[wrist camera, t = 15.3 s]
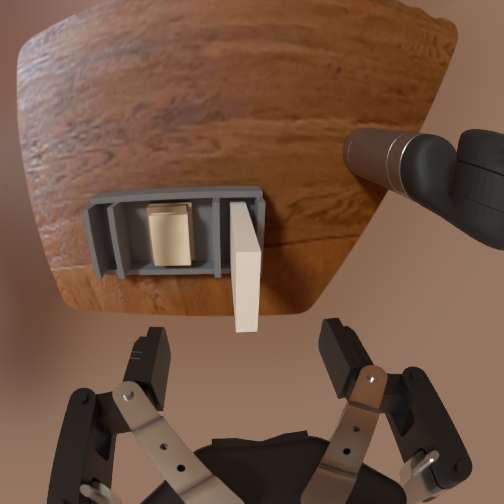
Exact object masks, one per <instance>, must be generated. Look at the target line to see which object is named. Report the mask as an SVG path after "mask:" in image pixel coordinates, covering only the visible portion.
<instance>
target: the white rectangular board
mask: <svg viewBox="0 0 504 504" xmlns="http://www.w3.org/2000/svg"><path fill="white" fill-rule="evenodd" d="M230 264H231V277H232V289H233V301H234V313H235V324H236V332H255V331H257V326H258V307H259V287H260V266H261V250H260V246H259V243H258V240H257V237H256V234H255V231H254V228H253V225H252V221H251V218H250V215H249V212H248V209H247V206H246V203H245V200H230Z"/></svg>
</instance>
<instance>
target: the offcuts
mask: <svg viewBox="0 0 504 504" xmlns="http://www.w3.org/2000/svg"><path fill="white" fill-rule="evenodd" d="M146 209H147V219H148V229H149V237H150V245H151V253H152V260H153V261H154V263H155V266H176V265H191V262H192V260H194V259H195V246H194V229H193V209H192V200H178V201H157V202H150V203H149V206H148V207H147V208H146Z"/></svg>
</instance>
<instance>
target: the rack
mask: <svg viewBox="0 0 504 504" xmlns="http://www.w3.org/2000/svg"><path fill="white" fill-rule="evenodd" d="M178 200H192V209H193V229H194V246H195V259H194V260H192V262H191V265H176V266H155V263H154V261H153V260H152V253H151V245H150V237H149V229H148V219H147V209H146V208H147V207H148V206H149V203H150V202H157V201H178ZM230 200H245V203H246V206H247V209H248V212H249V215H250V218H251V221H252V225H253V228H254V231H255V234H256V237H257V240H258V243H259V246H260V250H261V266H260V276H262V269H263V248H264V225H265V201H264V199H263V191H262V189H261V188H260V186H202V187H175V188H156V189H140V190H127V191H115V192H104V193H98V194H97V195H95V196H93V197H92V198H90V205H89V206H88V207H86V208H85V209H83V216H84V223H85V228H86V234H87V239H88V244H89V249H90V253H91V258H92V262H93V267H94V271H95V275H96V278H102V277H103V275H119V279H125V277H126V276H127V275H178V274H215V278H221V274H229V273H231V264H230Z"/></svg>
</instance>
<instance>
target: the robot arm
mask: <svg viewBox="0 0 504 504" xmlns="http://www.w3.org/2000/svg"><path fill="white" fill-rule="evenodd" d="M343 156H344V161H345V163H346V165H347V167H348V168H349V170H350V171H351V172H352V173H353V174H355V175H357V176H359V177H361V178H364V179H366V180H368V181H371V182H373V183H375V184H378V185H380V186H382V187H385V188H387V189H389V190H391V191H394V192H396V193H398V194H400V195H402V196H404V197H407V198H409V199H411V200H413V201H415V202H417V203H419V204H420V205H422V206H423V207H425V208H426V209H428V210H430V211H432V212H434V213H436V214H437V215H439V216H441V217H442V218H444V219H445V220H447V221H448V222H450V223H451V224H452V225H454V226H455V227H457V228H458V229H460V230H461V231H463V232H464V233H466V234H467V235H469V236H470V237H472V238H474V239H475V240H477V241H479V242H481V243H483V244H485V245H487V246H489V247H492V248H495V249H498V250H504V134H500V133H497V132H493V131H488V130H481V129H471V130H467V131H465V132H463V133H462V134H461V136H460V139H459V143H458V149H457V152H456V150H455V148H454V147H453V146H452V144H451V143H449V141H447V140H446V139H444V138H442V137H440V136H436V135H431V134H422V133H415V132H405V131H396V130H386V129H374V128H360V129H357V130H355V131H353V132H352V133H351V134H350V135H349V136H348V138H347V139H346V141H345V144H344V149H343ZM319 351H320V354H321V356H322V359H323V361H324V364H325V366H326V369H327V371H328V374H329V376H330V379H331V381H332V384H333V387H334V389H335V392H336V394H337V397H338V399H340V398H345V397H346V399H347V403H346V405H345V408H344V410H343V412H342V414H341V417H340V419H339V421H338V423H337V425H336V427H335V430H334V432H333V434H332V436H331V438H330V439H329V441H327V440H325V439H322V438H318V437H313V436H308V434H307V431H300V432H293V433H286V434H282V435H279V436H276V437H273V438H270V439H268V440H264V441H252V440H244V439H238V438H226V439H212V445H208V446H205V447H202V448H200V449H198V450H196V451H194V452H192V451H191V450H190V449H189V448H188V447H187V445H185V443H184V442H183V441H182V440H181V438H180V437H179V436H178V435H177V434H176V432H175V431H174V430H173V429H172V427H171V426H170V425H169V424H168V422H167V421H166V420H165V419H164V418H163V416H160V414H159V413H158V412H157V411H163V408H164V400H165V393H166V385H167V379H168V372H169V366H170V358H171V353H170V347H169V343H168V339H167V335H166V330H165V328H164V327H150V328H149V330H148V333H147V336H146V337H140V338H139V339H138V340H137V341H136V342H135V343H134V346H133V349H132V353H131V356H130V359H129V363H128V365H127V369H126V372H125V375H124V379H123V382H122V383H120V384H118V385H117V386H116V387H115V388H114V389H113V391H112V392H108V393H102V394H96V395H95V393H94V392H93V391H92V390H91V389H88V388H80V389H78V390H76V391H75V392H73V394H72V395H71V397H70V400H69V403H68V406H67V410H66V413H65V417H64V420H63V424H62V428H61V431H60V435H59V439H58V444H57V448H56V453H55V457H54V462H53V467H52V473H51V478H50V484H49V491H48V498H47V504H122V501H121V499H120V497H119V496H118V495H117V494H116V493H115V492H113V491H112V490H111V482H112V470H113V460H114V451H115V442H116V436H117V434H119V433H125V432H130V431H132V432H133V434H134V436H135V437H136V439H137V440H138V442H139V443H140V445H141V446H142V448H143V449H144V451H145V452H146V454H147V455H148V457H149V458H150V459H151V460H152V462H153V464H154V465H155V466H156V467H157V469H158V470H159V471H160V473H161V474H162V475H163V477H164V478H165V479H166V480H165V481H164V482H163V483H162V484H161V485H159V487H158V488H156V489H155V490H154V491H153V492H152V493H151V494H150V495H149V496H148V497H147V498H146V499H145V500H144V501H143V502H142V503H140V504H417V503H419V502H428V501H431V500H433V499H435V498H436V497H438V496H440V495H442V494H443V493H445V492H447V491H448V490H450V489H452V488H453V487H455V486H456V485H458V484H460V483H461V482H463V481H464V480H466V479H467V478H468V477H469V475H470V474H471V472H472V462H471V459H470V457H469V455H468V453H467V451H466V448H465V446H464V444H463V442H462V440H461V438H460V436H459V434H458V432H457V430H456V428H455V426H454V424H453V422H452V420H451V418H450V416H449V414H448V413H447V411H446V409H445V407H444V405H443V403H442V401H441V400H440V398H439V396H438V394H437V392H436V391H435V389H434V387H433V385H432V384H431V382H430V380H429V378H428V377H427V375H426V374H425V373H424V371H423V370H422V369H420V368H417V367H408V368H406V369H405V370H404V371H403V373H402V374H387V373H386V372H385V371H384V370H383V369H382V368H381V367H378V366H375V365H374V364H373V363H372V361H371V359H370V357H369V356H368V354H367V352H366V350H365V348H364V347H363V346H362V343H361V341H360V340H359V338H358V336H357V335H356V333H355V331H353V330H352V329H351V328H349V327H348V326H344V327H343V325H342V323H341V321H340V320H339V318H331V319H324V320H323V323H322V327H321V332H320V337H319ZM380 413H385V414H386V417H387V419H388V422H389V424H390V427H391V429H392V432H393V435H394V437H395V440H396V442H397V445H398V448H399V451H400V453H401V456H402V459H403V461H404V465H403V466H402V467H401V470H400V484H398V483H397V482H396V481H394V480H392V479H390V478H388V477H387V476H385V475H383V474H381V473H380V472H378V471H376V470H374V469H372V468H371V467H369V466H367V465H366V464H364V463H363V459H364V457H365V455H366V452H367V449H368V447H369V444H370V441H371V439H372V436H373V433H374V430H375V427H376V424H377V421H378V418H379V415H380Z"/></svg>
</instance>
